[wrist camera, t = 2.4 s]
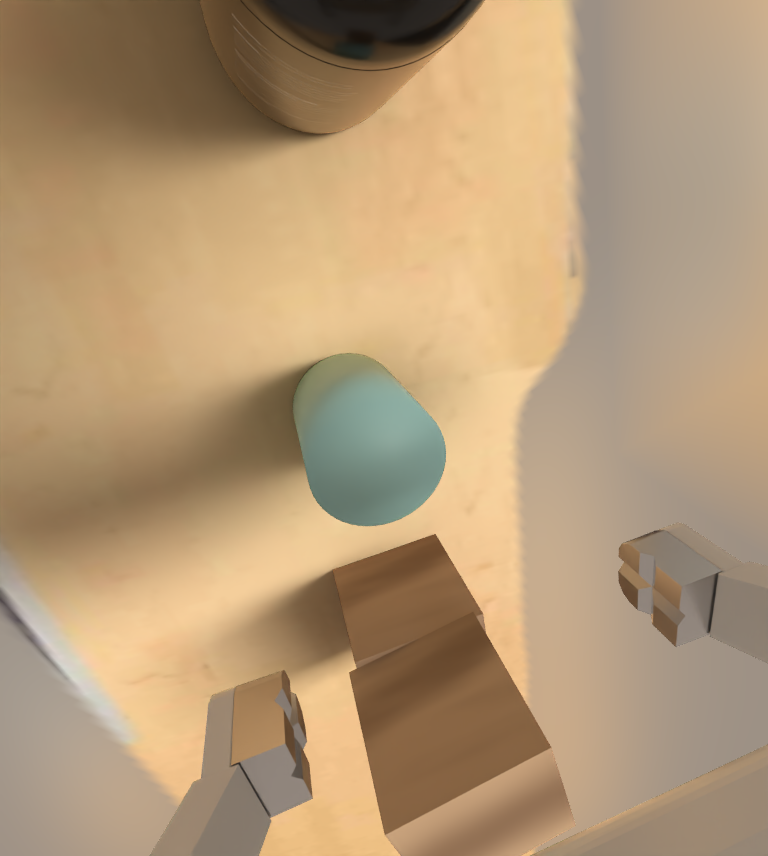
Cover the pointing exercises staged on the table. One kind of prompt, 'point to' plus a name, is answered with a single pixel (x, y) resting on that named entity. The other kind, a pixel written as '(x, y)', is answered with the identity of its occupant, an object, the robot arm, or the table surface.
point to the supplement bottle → (328, 53)
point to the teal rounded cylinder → (365, 441)
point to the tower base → (401, 597)
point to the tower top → (457, 749)
